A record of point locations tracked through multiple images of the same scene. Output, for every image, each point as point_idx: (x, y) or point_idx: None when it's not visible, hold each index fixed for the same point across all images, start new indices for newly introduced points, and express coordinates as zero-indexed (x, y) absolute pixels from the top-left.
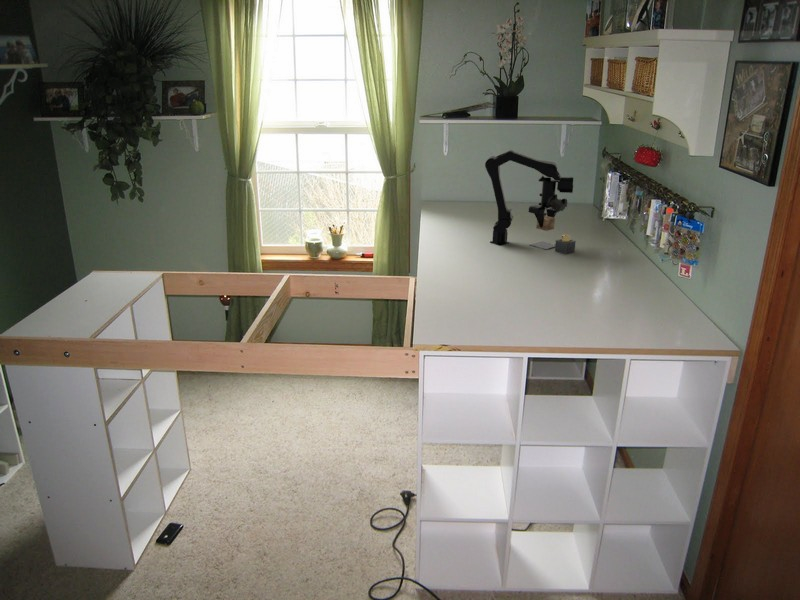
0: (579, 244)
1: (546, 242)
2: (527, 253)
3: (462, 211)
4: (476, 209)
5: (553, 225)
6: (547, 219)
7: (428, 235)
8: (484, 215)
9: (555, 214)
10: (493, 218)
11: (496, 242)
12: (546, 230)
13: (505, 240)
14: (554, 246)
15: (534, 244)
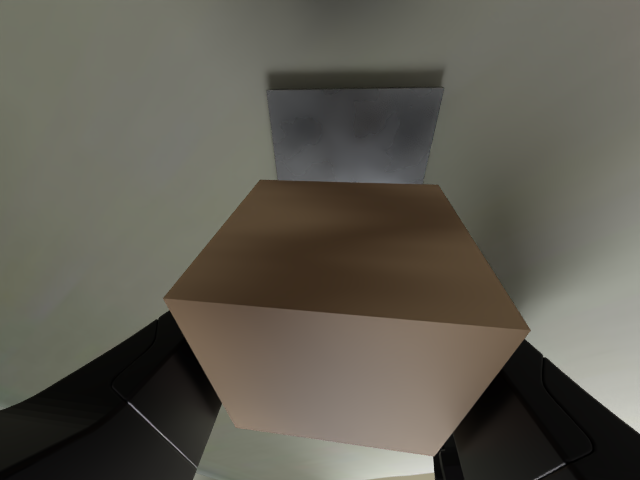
0: (57, 9)
1: None
2: (631, 126)
3: (256, 462)
4: (216, 454)
5: (262, 204)
6: (477, 338)
7: None
8: (231, 440)
9: (53, 391)
10: (227, 426)
11: None
12: (432, 185)
13: None
14: (316, 90)
15: None
